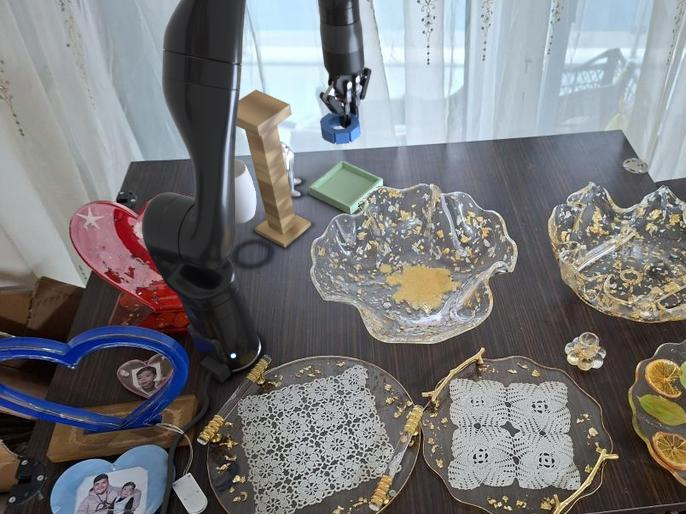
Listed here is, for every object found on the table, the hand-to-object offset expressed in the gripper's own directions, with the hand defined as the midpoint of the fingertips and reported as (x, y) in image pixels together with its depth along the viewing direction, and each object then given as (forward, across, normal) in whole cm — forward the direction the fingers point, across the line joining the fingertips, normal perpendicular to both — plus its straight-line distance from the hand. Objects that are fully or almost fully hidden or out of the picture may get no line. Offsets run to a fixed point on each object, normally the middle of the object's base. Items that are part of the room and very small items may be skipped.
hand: (349, 124), depth 124 cm
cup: (+15, -29, +3) cm, 33 cm away
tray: (+15, -3, 0) cm, 15 cm away
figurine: (+15, -10, +10) cm, 21 cm away
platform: (+15, -20, +3) cm, 25 cm away
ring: (0, -3, 0) cm, 3 cm away
